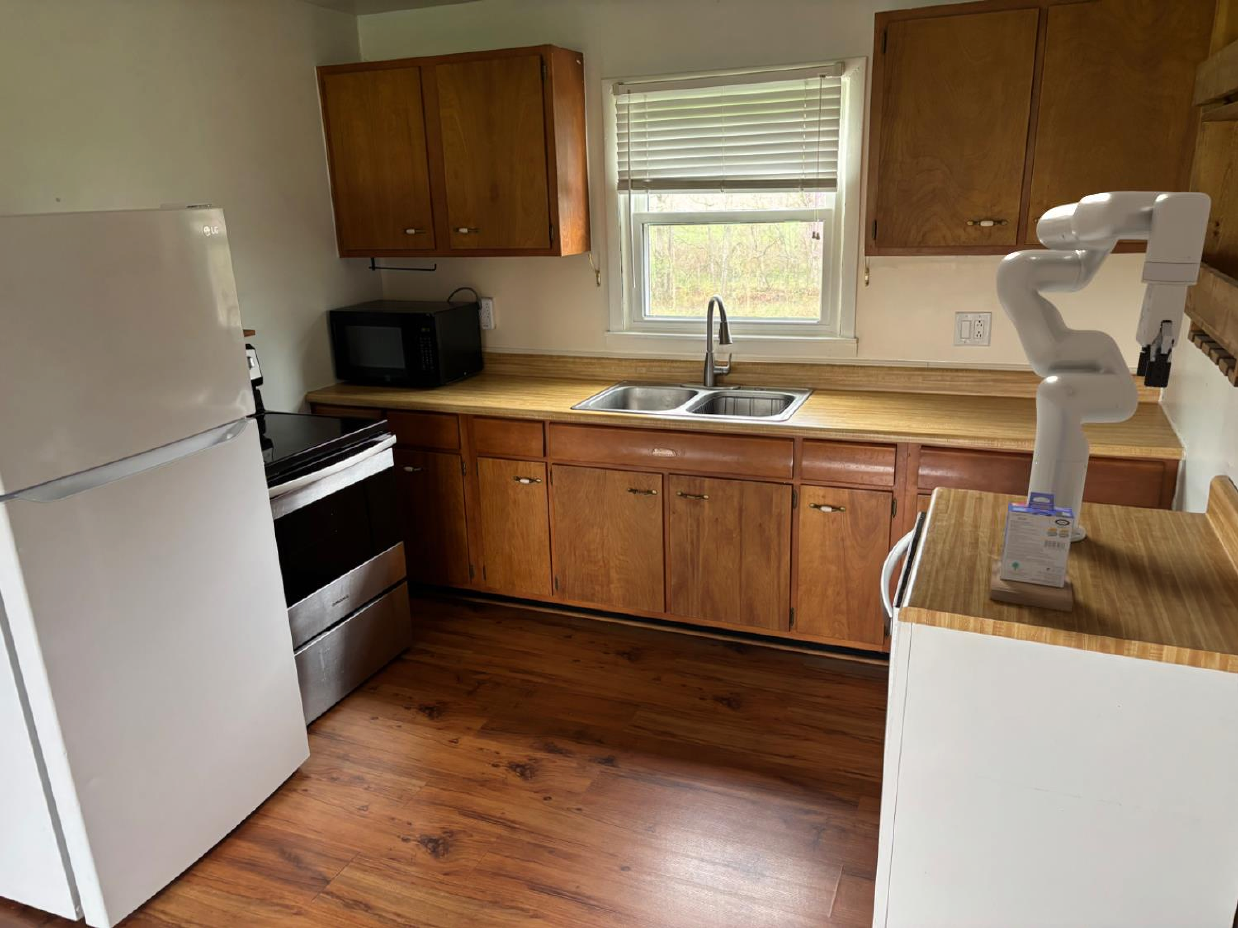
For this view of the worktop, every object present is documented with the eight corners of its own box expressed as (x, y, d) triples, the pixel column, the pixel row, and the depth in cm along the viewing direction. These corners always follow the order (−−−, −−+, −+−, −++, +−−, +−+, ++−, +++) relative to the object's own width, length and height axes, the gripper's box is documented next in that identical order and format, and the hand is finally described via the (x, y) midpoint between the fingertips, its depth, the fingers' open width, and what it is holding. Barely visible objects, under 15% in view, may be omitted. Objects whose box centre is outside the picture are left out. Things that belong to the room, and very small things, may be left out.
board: (991, 568, 157) (993, 558, 157) (1067, 579, 153) (1068, 569, 152) (989, 598, 145) (991, 588, 144) (1071, 612, 140) (1073, 601, 140)
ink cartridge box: (1062, 576, 149) (1075, 494, 145) (1065, 589, 144) (1078, 504, 140) (999, 567, 153) (1009, 487, 149) (999, 579, 148) (1010, 497, 144)
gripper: (1136, 270, 149) (1119, 371, 154) (1149, 277, 134) (1130, 389, 138) (1188, 271, 146) (1169, 374, 151) (1208, 279, 131) (1186, 393, 136)
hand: (1151, 381), depth 145 cm, fingers open, 9 cm apart
